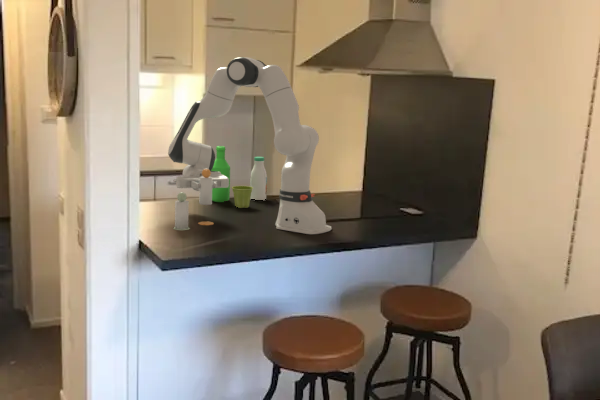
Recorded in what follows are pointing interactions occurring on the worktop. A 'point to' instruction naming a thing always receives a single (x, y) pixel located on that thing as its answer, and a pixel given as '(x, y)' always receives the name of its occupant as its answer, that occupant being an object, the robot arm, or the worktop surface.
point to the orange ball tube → (205, 188)
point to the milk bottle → (258, 180)
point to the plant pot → (242, 196)
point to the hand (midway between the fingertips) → (206, 185)
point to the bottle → (224, 168)
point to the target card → (200, 224)
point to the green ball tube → (181, 212)
